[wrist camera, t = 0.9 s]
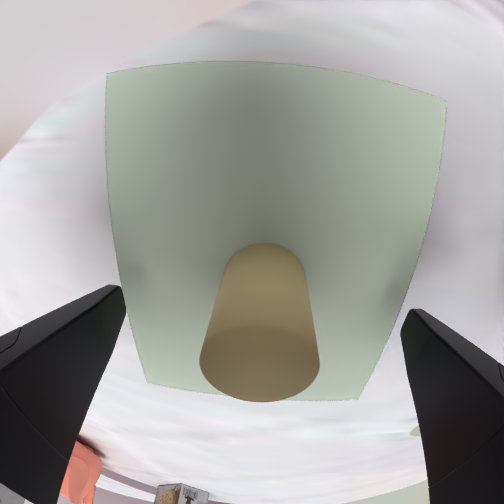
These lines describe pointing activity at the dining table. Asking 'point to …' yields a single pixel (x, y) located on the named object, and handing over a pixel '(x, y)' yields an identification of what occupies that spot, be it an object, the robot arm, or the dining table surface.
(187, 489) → the coffee box
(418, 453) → the dining table surface
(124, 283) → the lid
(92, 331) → the robot arm
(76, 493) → the teapot
